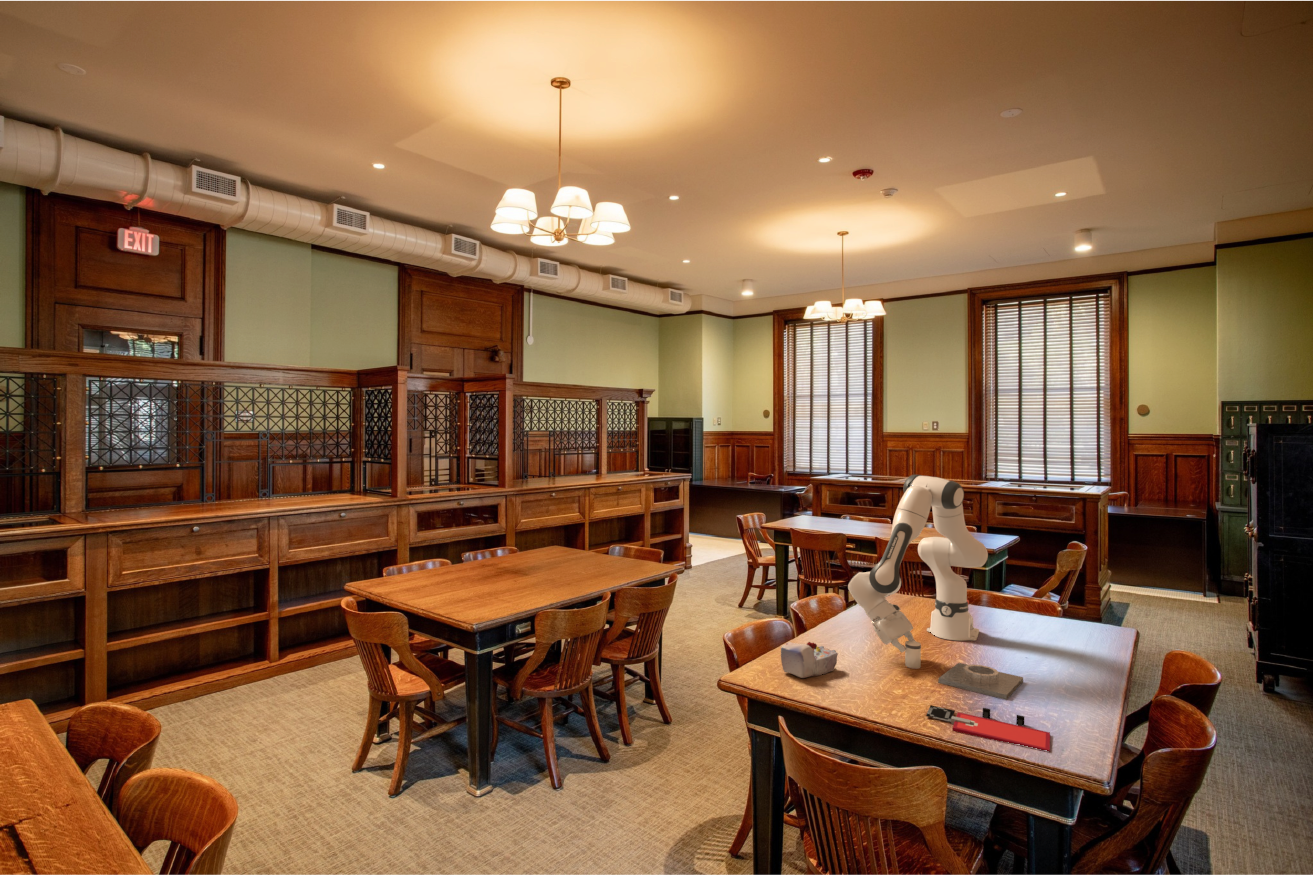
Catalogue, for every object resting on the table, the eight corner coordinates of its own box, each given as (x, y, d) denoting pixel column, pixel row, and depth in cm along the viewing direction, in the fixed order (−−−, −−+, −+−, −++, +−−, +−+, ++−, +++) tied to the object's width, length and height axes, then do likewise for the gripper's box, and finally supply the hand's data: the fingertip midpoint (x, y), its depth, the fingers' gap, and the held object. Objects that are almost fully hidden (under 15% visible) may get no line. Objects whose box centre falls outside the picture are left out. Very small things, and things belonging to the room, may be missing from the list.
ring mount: (958, 666, 227) (958, 655, 227) (1023, 681, 213) (1023, 669, 213) (938, 682, 212) (938, 670, 212) (1006, 699, 198) (1006, 686, 198)
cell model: (776, 640, 219) (809, 630, 233) (775, 673, 219) (809, 661, 233) (809, 650, 210) (842, 638, 224) (809, 684, 209) (842, 670, 223)
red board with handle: (931, 705, 194) (922, 725, 181) (931, 696, 194) (923, 715, 181) (1049, 732, 178) (1049, 755, 165) (1050, 721, 178) (1049, 744, 165)
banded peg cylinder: (908, 662, 231) (908, 639, 231) (922, 665, 227) (923, 642, 227) (902, 666, 227) (902, 643, 227) (917, 669, 224) (917, 646, 224)
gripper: (876, 615, 225) (904, 649, 219) (899, 604, 241) (926, 636, 234) (863, 625, 228) (891, 660, 222) (887, 614, 244) (913, 646, 237)
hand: (909, 647), depth 228 cm, fingers open, 8 cm apart
